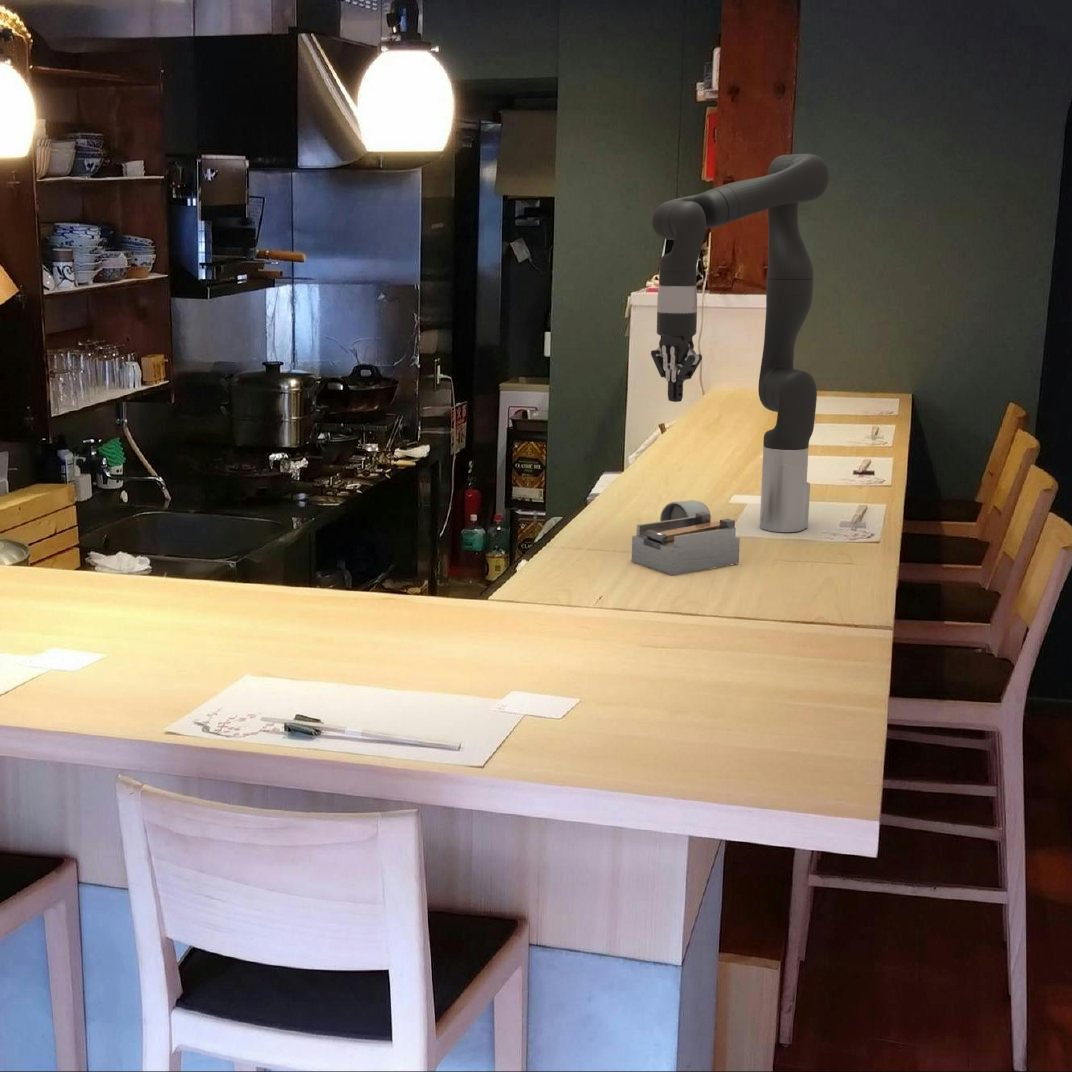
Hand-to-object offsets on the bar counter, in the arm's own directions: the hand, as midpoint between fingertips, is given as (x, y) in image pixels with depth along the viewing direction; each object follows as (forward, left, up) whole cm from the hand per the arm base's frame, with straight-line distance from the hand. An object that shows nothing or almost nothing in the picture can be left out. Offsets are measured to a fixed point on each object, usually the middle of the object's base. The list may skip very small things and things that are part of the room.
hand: (674, 401), depth 259 cm
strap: (+5, +12, -23) cm, 27 cm away
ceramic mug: (-8, -6, -29) cm, 31 cm away
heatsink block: (+6, +12, -29) cm, 32 cm away
